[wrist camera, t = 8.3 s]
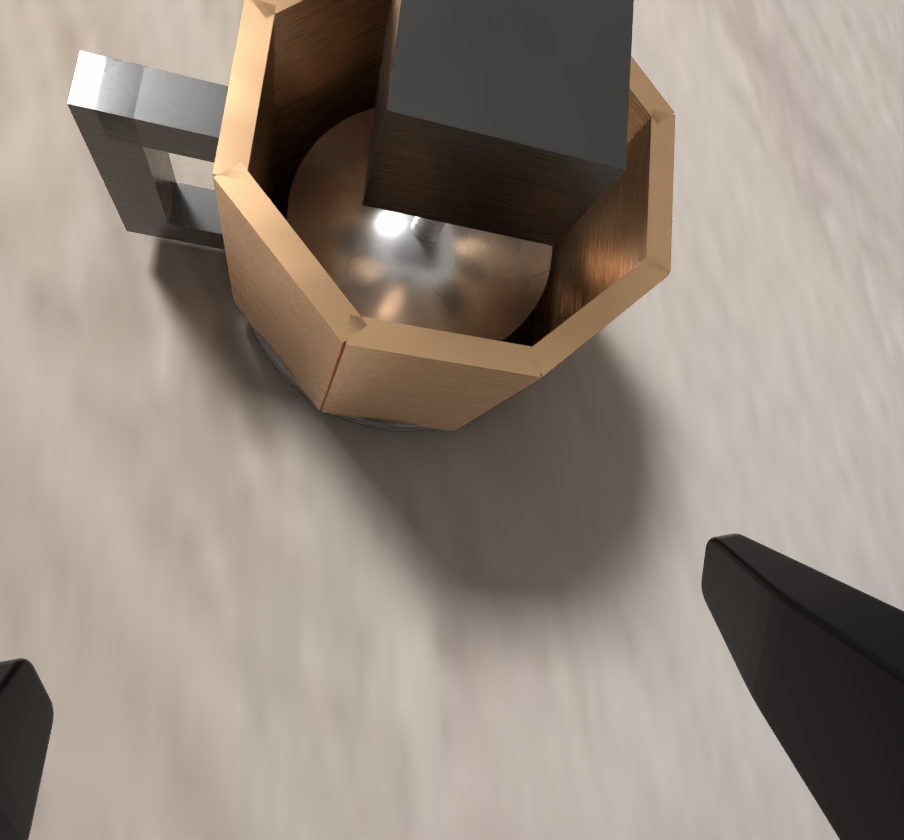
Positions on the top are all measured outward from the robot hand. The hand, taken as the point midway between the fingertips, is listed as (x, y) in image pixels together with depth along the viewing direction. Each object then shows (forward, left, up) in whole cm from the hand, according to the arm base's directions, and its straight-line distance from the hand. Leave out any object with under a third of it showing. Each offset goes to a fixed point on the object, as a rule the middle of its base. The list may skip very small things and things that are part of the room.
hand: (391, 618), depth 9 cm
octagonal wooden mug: (+6, -7, -11) cm, 14 cm away
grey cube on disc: (+5, -8, -8) cm, 12 cm away
